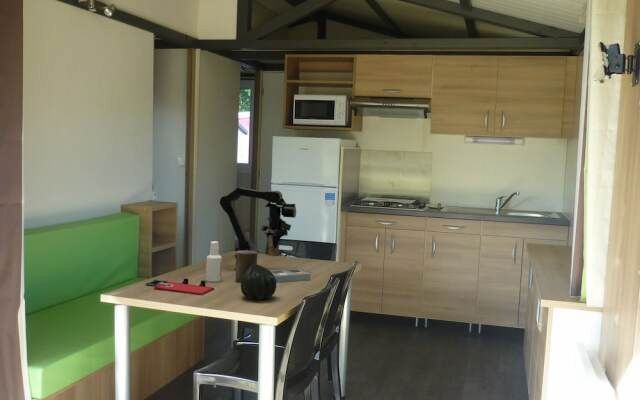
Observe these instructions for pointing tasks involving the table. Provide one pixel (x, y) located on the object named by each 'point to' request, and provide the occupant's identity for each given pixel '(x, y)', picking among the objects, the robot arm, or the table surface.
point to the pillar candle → (244, 262)
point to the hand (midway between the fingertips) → (273, 247)
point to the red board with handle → (181, 287)
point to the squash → (258, 283)
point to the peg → (272, 248)
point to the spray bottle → (214, 263)
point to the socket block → (290, 275)
